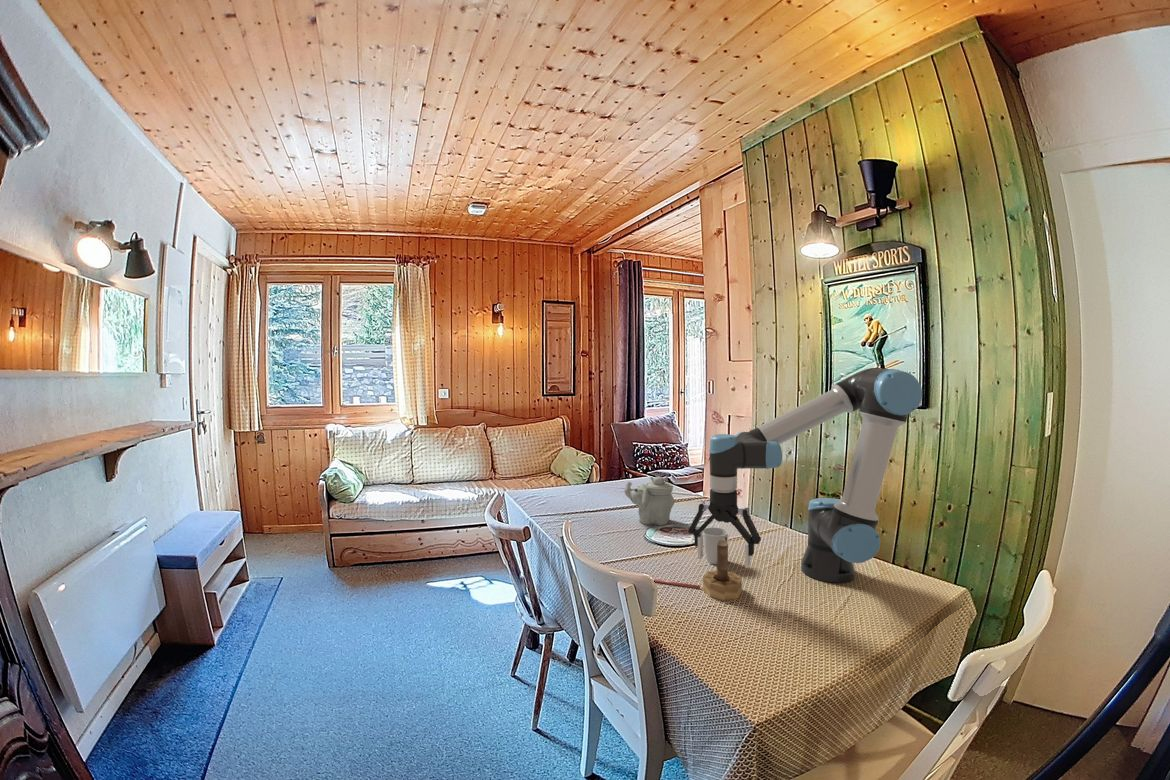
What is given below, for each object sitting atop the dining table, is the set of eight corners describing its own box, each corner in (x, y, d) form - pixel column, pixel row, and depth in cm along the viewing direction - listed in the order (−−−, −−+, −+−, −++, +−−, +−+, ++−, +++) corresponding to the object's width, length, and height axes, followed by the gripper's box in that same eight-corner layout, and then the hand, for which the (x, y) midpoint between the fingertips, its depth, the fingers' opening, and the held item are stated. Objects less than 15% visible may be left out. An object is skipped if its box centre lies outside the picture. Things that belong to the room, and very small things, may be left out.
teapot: (623, 519, 216) (622, 474, 215) (649, 512, 226) (649, 468, 224) (651, 531, 203) (651, 482, 202) (678, 522, 212) (678, 476, 211)
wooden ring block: (743, 588, 155) (744, 574, 155) (735, 602, 147) (735, 588, 146) (710, 580, 160) (710, 568, 160) (699, 594, 152) (699, 581, 151)
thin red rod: (700, 587, 156) (700, 585, 156) (700, 589, 155) (700, 586, 155) (652, 580, 161) (652, 578, 160) (651, 582, 160) (651, 579, 160)
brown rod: (728, 590, 154) (729, 538, 152) (725, 594, 151) (726, 542, 150) (718, 588, 155) (718, 536, 154) (715, 592, 153) (715, 540, 151)
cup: (728, 567, 170) (728, 536, 169) (702, 565, 171) (702, 535, 171) (726, 557, 178) (727, 528, 177) (702, 555, 179) (702, 526, 178)
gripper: (771, 490, 148) (771, 564, 150) (685, 481, 160) (686, 549, 162) (766, 498, 141) (765, 575, 143) (676, 487, 154) (677, 558, 156)
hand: (723, 561), depth 153 cm, fingers open, 13 cm apart
